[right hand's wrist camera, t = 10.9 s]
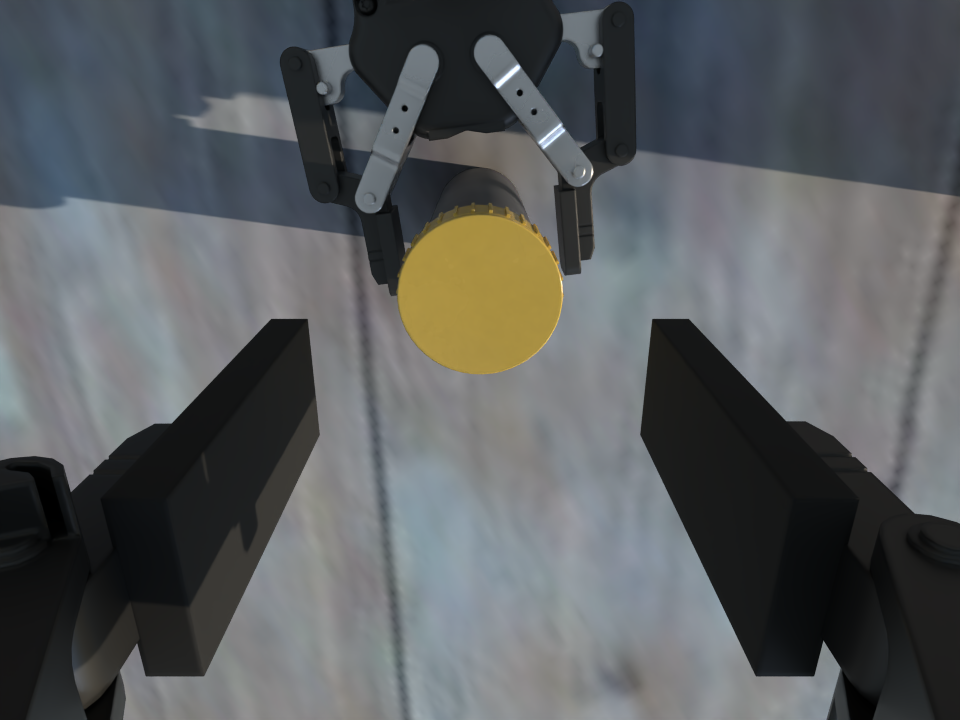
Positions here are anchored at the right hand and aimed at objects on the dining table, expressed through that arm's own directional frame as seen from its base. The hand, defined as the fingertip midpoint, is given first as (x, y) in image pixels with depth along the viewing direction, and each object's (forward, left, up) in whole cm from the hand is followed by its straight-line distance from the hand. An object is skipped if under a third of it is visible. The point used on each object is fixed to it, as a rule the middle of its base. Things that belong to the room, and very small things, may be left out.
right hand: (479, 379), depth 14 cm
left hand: (-1, -2, -16) cm, 16 cm away
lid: (0, 0, -6) cm, 6 cm away
